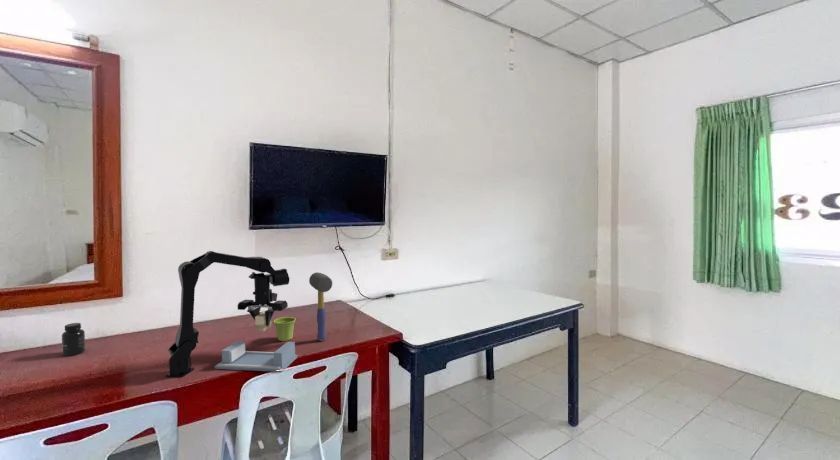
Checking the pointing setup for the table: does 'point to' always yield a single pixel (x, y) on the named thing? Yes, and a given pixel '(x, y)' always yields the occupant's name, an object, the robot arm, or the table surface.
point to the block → (261, 322)
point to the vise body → (263, 360)
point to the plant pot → (284, 328)
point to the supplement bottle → (73, 340)
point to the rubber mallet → (321, 300)
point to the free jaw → (233, 352)
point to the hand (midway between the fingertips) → (263, 325)
